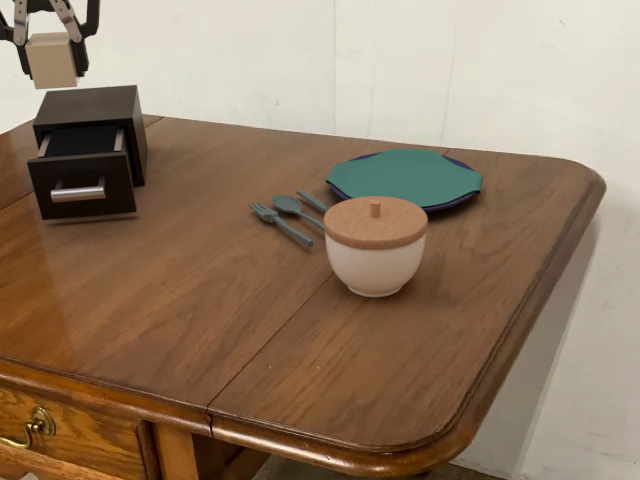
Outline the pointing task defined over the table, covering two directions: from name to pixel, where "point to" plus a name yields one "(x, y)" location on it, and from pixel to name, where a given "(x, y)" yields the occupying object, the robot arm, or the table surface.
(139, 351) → the table surface
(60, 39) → the ivory upright block
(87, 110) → the dark wood drawer unit
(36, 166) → the open drawer with handle
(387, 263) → the trinket box
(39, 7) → the robot arm
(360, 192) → the cutlery set
